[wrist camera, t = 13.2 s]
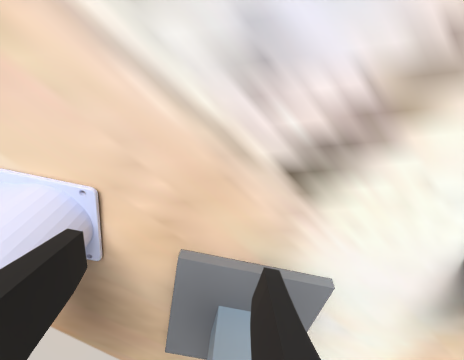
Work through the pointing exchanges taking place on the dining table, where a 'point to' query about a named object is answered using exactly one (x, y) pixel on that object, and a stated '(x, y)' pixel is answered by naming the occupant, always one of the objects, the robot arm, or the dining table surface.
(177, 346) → the rubber mat
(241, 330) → the slate cube
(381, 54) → the dining table surface
